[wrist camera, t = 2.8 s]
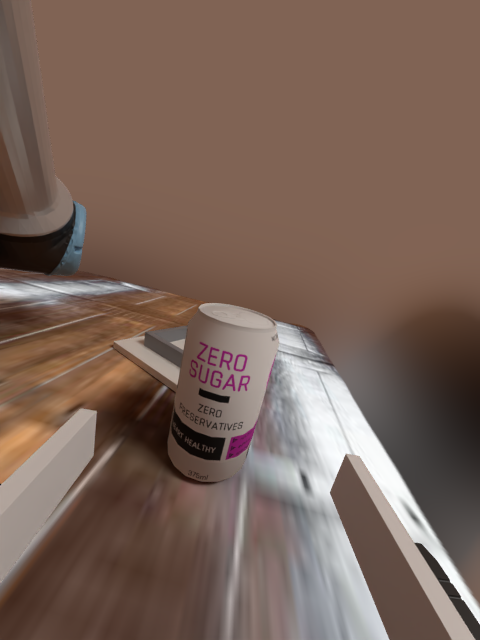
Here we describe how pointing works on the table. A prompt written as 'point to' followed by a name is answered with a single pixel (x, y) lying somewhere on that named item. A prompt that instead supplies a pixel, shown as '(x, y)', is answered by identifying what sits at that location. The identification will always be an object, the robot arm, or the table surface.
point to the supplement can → (220, 390)
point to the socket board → (157, 353)
